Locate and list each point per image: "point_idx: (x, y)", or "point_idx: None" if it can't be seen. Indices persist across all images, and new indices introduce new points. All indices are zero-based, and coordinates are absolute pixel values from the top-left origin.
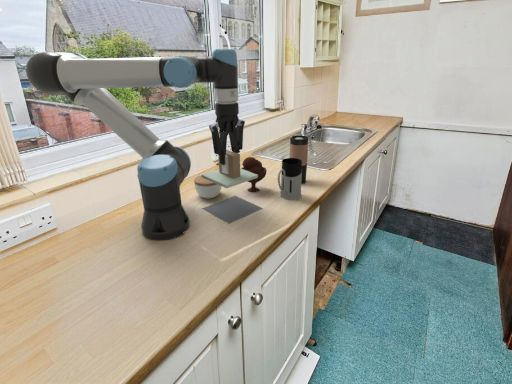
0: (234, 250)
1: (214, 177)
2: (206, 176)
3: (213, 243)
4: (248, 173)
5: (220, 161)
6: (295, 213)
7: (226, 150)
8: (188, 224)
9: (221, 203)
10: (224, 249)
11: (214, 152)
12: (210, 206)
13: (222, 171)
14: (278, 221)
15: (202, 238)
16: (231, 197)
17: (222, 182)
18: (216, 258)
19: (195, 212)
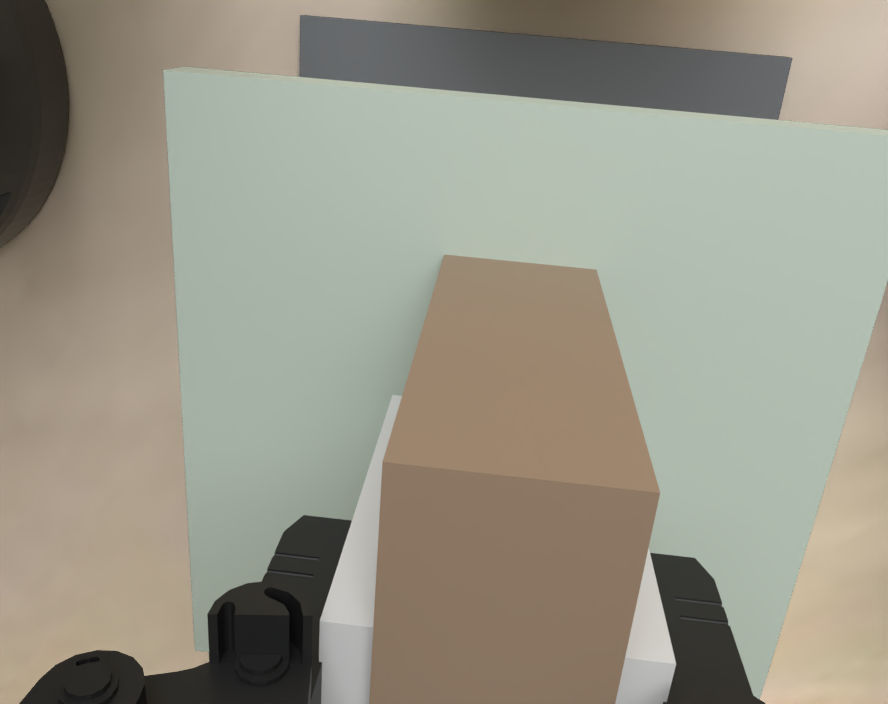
0: (130, 647)
1: (250, 347)
2: (177, 216)
3: (71, 513)
4: (723, 602)
5: (275, 566)
6: (785, 687)
7: (601, 588)
8: (1, 239)
9: (525, 95)
10: (89, 601)
11: (40, 692)
12: (394, 56)
13: (388, 413)
14: None
15: (42, 416)
16: (721, 61)
17: (218, 558)
18: (5, 623)
19: (223, 10)
